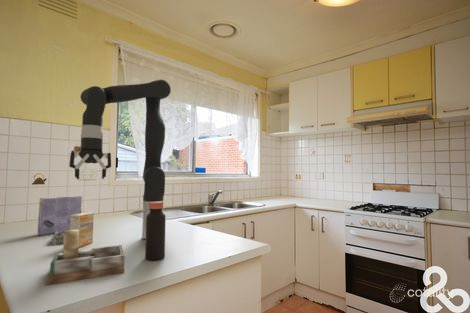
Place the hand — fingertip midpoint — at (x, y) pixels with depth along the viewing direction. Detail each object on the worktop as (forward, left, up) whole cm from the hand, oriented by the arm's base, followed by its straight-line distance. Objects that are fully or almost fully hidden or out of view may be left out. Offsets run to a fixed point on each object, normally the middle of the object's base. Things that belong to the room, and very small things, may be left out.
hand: (90, 178), depth 102 cm
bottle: (-22, +18, -28) cm, 40 cm away
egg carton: (+11, -23, -29) cm, 38 cm away
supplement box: (+3, -12, -28) cm, 31 cm away
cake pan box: (+14, -44, -28) cm, 54 cm away
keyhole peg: (+4, +20, -27) cm, 34 cm away
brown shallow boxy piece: (-1, +20, -28) cm, 35 cm away
